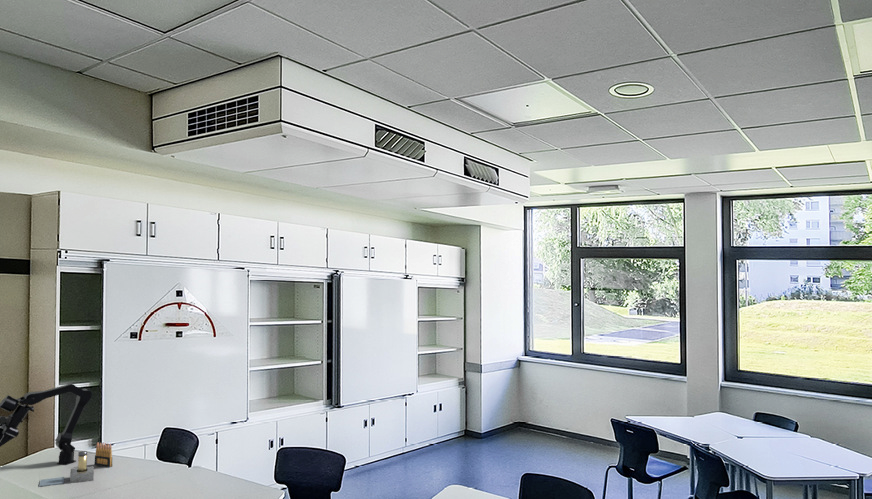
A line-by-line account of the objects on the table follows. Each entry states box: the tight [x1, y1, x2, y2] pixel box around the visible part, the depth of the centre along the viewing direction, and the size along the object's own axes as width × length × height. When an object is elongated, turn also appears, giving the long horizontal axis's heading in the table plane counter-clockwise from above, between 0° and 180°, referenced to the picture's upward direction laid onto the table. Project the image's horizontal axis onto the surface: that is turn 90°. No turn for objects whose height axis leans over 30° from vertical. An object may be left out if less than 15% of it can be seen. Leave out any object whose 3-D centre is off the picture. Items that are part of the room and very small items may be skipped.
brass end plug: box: [77, 450, 88, 472], centre depth 311 cm, size 4×4×13 cm
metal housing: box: [69, 465, 95, 484], centre depth 311 cm, size 10×10×4 cm
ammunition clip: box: [93, 441, 113, 468], centre depth 332 cm, size 11×2×12 cm, turn 70°
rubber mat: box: [38, 476, 65, 488], centre depth 305 cm, size 10×10×1 cm
